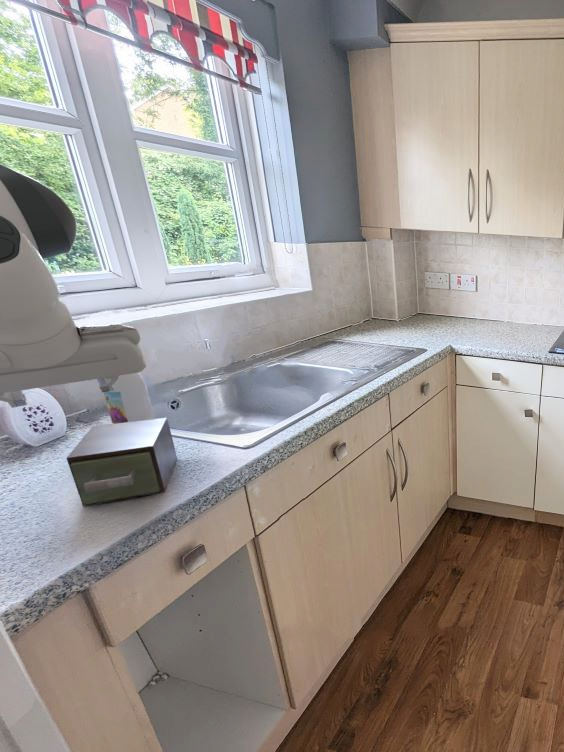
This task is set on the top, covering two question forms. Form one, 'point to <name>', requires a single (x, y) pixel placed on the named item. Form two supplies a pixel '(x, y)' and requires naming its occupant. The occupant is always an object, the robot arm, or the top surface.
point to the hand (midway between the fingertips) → (65, 395)
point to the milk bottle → (129, 400)
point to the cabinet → (130, 447)
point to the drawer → (115, 477)
